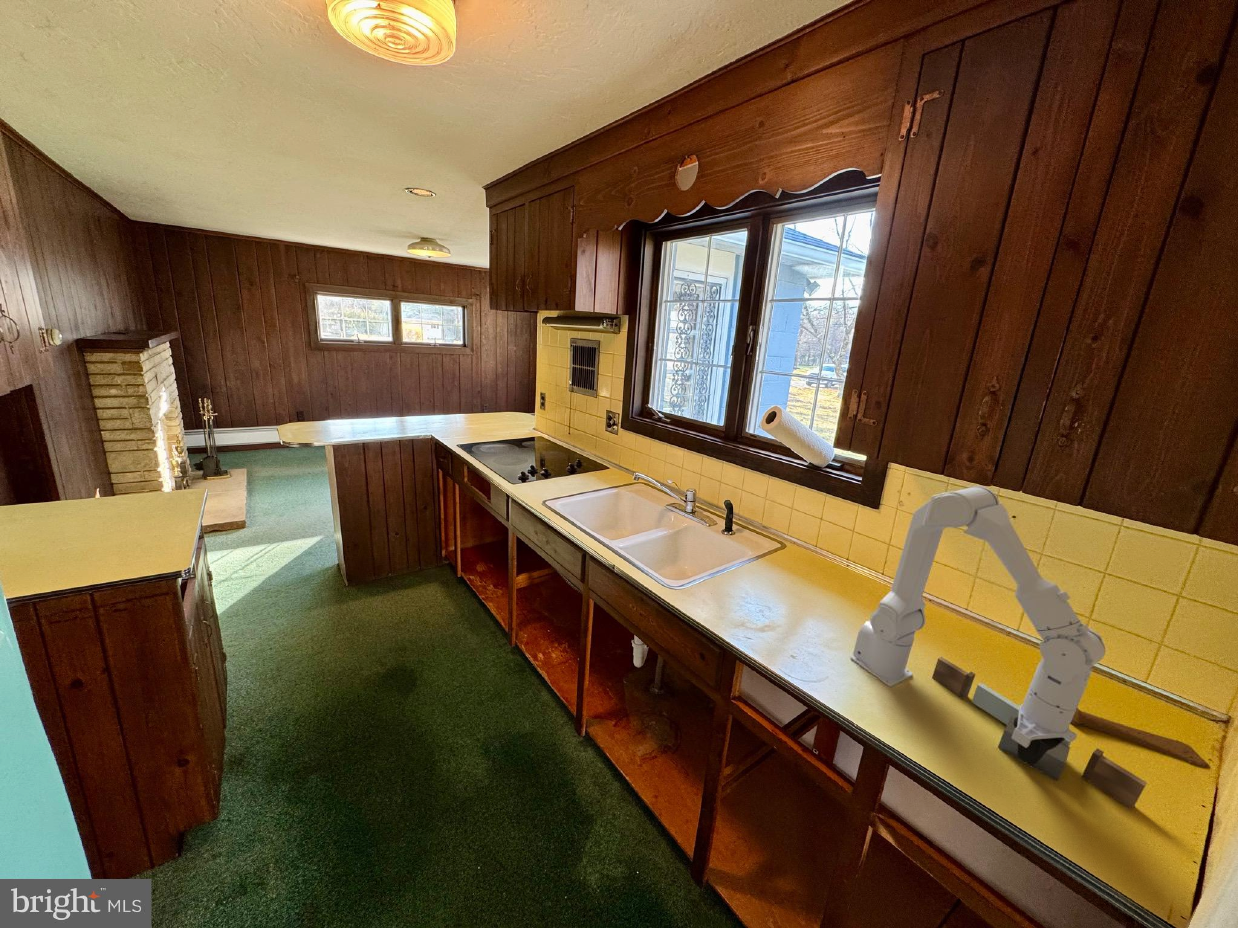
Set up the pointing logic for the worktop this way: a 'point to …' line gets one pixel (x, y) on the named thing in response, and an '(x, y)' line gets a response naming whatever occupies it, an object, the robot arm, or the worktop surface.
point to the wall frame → (1098, 767)
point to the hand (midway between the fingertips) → (1025, 760)
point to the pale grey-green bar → (997, 705)
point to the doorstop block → (1047, 764)
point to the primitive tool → (1140, 738)
